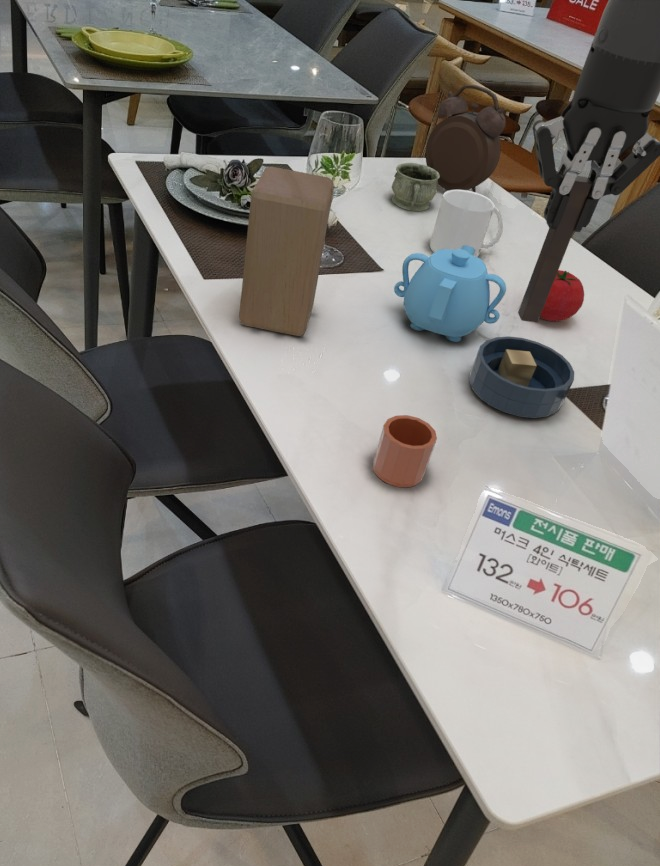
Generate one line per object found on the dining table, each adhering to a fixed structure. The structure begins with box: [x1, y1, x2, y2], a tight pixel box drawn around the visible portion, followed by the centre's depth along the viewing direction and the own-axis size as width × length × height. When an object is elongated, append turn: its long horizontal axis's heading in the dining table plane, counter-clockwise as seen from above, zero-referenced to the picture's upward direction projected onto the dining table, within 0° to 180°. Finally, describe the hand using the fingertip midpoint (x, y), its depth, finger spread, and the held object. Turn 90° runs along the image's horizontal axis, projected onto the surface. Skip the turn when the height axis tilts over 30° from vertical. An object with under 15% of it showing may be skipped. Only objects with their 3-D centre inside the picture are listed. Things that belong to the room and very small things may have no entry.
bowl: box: [468, 335, 575, 419], centre depth 107 cm, size 13×13×5 cm
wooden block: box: [238, 165, 335, 337], centre depth 108 cm, size 10×10×20 cm
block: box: [498, 349, 537, 387], centre depth 109 cm, size 4×4×4 cm
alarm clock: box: [425, 84, 506, 193], centre depth 153 cm, size 15×7×20 cm, turn 50°
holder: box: [372, 414, 438, 488], centre depth 91 cm, size 6×6×6 cm
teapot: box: [393, 245, 507, 343], centre depth 116 cm, size 20×17×12 cm
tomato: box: [539, 269, 585, 323], centre depth 123 cm, size 9×9×8 cm
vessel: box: [391, 162, 440, 212], centre depth 151 cm, size 12×9×6 cm
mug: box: [429, 190, 504, 258], centre depth 136 cm, size 12×9×9 cm
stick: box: [517, 175, 592, 323], centre depth 85 cm, size 2×2×16 cm
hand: (562, 226), depth 83 cm, fingers closed on stick, 2 cm apart
